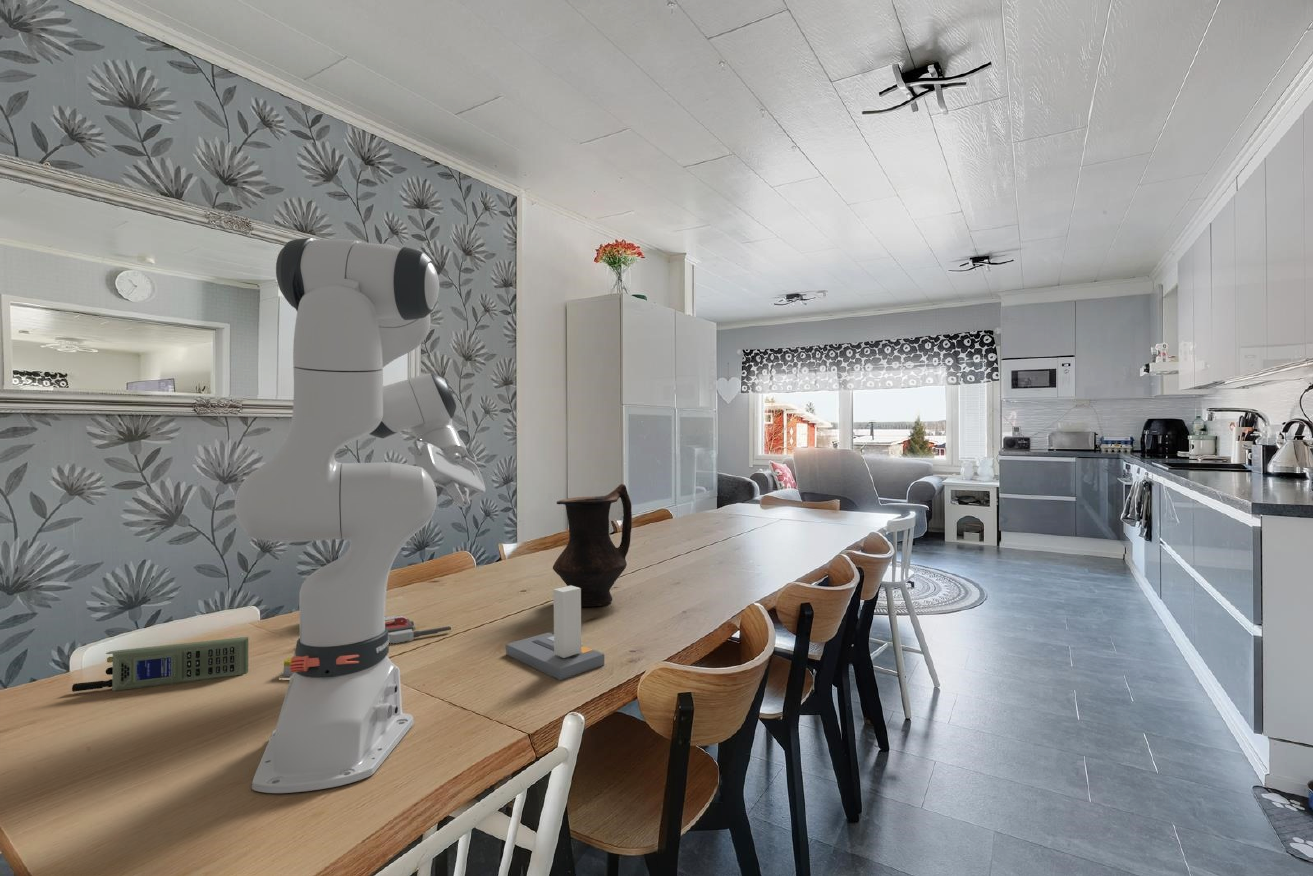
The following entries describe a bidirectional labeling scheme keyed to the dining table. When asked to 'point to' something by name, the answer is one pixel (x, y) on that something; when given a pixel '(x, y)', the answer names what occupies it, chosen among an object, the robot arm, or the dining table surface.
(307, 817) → the dining table surface
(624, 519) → the jug
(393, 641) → the walkie-talkie
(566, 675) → the switch panel
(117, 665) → the handheld radio
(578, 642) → the switch tab
